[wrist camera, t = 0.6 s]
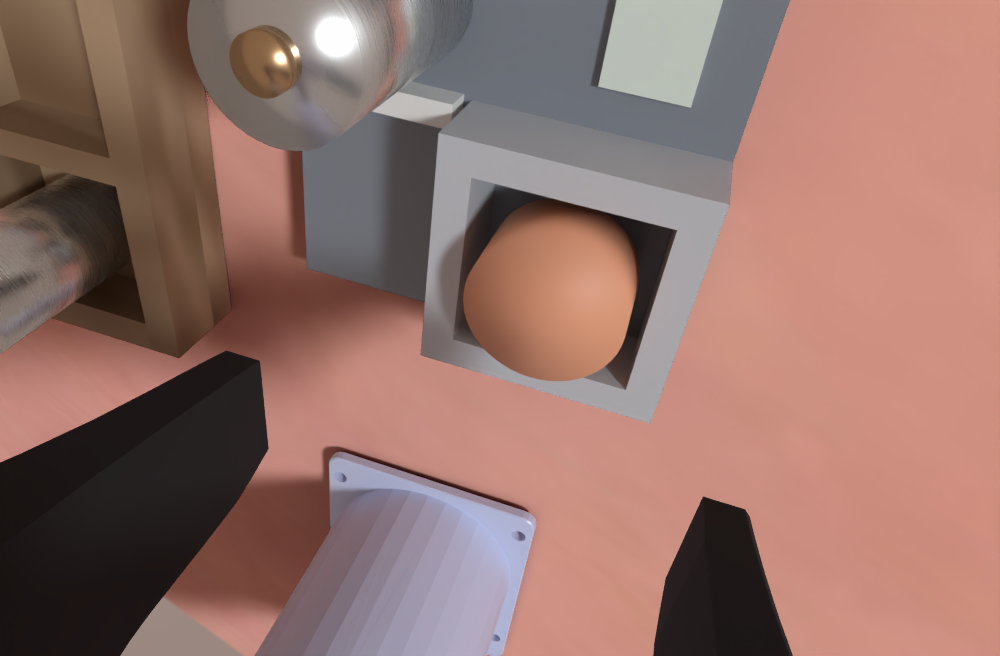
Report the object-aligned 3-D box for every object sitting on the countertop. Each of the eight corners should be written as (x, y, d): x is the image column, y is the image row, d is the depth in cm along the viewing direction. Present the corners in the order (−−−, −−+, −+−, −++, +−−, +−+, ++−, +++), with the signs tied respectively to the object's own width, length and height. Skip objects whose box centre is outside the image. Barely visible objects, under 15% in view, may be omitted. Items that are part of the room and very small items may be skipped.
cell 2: (465, 76, 16) (349, 179, 12) (344, 48, 17) (184, 136, 12) (481, -73, 14) (349, -22, 10) (343, -100, 15) (156, -64, 10)
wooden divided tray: (231, 309, 24) (179, 358, 22) (69, 261, 25) (4, 303, 23) (182, -93, 17) (97, -80, 15) (-43, -140, 18) (-154, -134, 16)
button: (619, 348, 18) (606, 399, 16) (481, 309, 18) (456, 355, 17) (658, 220, 16) (646, 265, 14) (500, 180, 16) (472, 219, 14)
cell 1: (159, 266, 23) (6, 380, 18) (78, 242, 23) (-91, 348, 19) (143, 180, 21) (-31, 283, 16) (55, 156, 21) (-139, 249, 17)
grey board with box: (664, 343, 20) (650, 423, 17) (326, 249, 22) (266, 309, 19) (821, -109, 13) (836, -91, 11) (317, -198, 15) (222, -201, 12)
